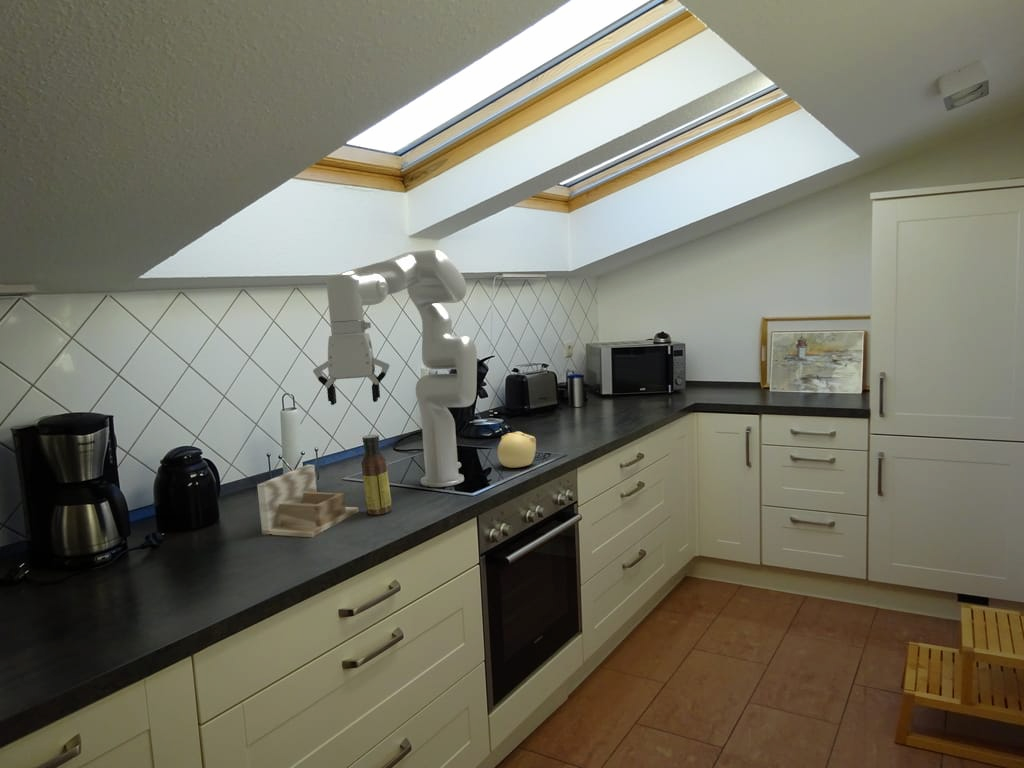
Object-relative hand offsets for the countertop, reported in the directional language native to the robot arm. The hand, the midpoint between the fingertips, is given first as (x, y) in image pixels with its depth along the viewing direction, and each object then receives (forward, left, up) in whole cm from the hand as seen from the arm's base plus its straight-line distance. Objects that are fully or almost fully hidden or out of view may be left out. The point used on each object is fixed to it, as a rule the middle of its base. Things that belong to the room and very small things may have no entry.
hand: (354, 402), depth 165 cm
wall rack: (-2, -16, -30) cm, 34 cm away
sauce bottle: (-12, -3, -30) cm, 33 cm away
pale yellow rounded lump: (-63, +17, -30) cm, 72 cm away
